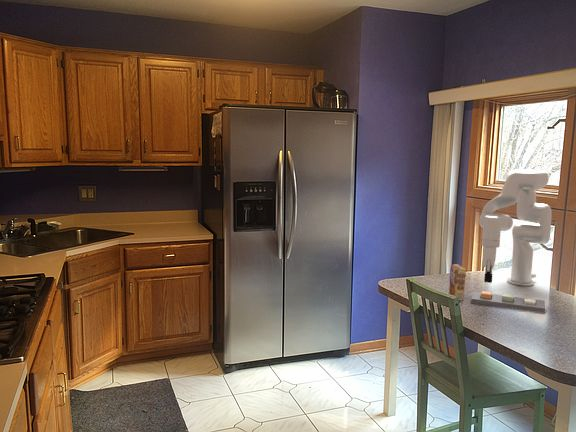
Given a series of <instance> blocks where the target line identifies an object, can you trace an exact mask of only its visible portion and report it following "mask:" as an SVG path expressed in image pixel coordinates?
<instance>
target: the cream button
mask: <svg viewBox="0 0 576 432" xmlns="http://www.w3.org/2000/svg"><path fill="white" fill-rule="evenodd" d="M523 298H524V304H532V305H535V304H536V301H535V300H536V299H535V300H533V298H527V299H525V297H523Z"/></svg>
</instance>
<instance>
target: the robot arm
mask: <svg viewBox="0 0 576 432" xmlns="http://www.w3.org/2000/svg"><path fill="white" fill-rule="evenodd" d="M548 183H549V174H548V172H547V171H545V170H541V169H540V170H538V169H537V170H535V169H514V170H512V171H511V172H510V173H509V174H508V175H507V177H506V179H505V181H504V184H503V186H502V189H501V191H500V193H499V194H498V195H497V196H495V197H493V198H492V199H491V200H489V201H488V202H487V203H486V204H484V206H483V209H482V211H481V213H480V216H479V218H478V224H479V227H481V228H482V232H481V233H482V236H481V246H482V247H483V253H482V263H481V268H482V269H485V270H484V271H485V272H484V278H483V279H484V280H483V281H484V283H489V284H491V283H493V282H492V281H493V269H494V268H495V264H496V258H497V248H500V246H501V232H502V231H503V232H506V231H509V230H511V228H512V232H511V233H512V234H511V235H512V257H511V258H512V259H511V269H510V270H511V271H510V272H511V273H510V277H508V278H507V283H509V284H512V285H515V286H523V287H529V286H530V287H531V286H534V285H535V281H534V280H532V279H533V278H536V277H537V275H536V273H533V274H532V270H533V260H534V250H533V247H532V245H531V244H540V245H546V244H548V243H549V241H550V238H551V230H552V229H551V227H552V215H553V214H552V208H551V207H550V205H549V204H547V203H546V204H545V203H537V192H536V191H538V190H541V189H543V188H545V187H547V185H548ZM513 205H516V218H517V219H518V220H520V221H523V222H519V223H516V224H514V220H513V218H512V216H510V215H509V214H504V213H503V214H502V213H494V212H496V211H497V210H501V209H503V208H506V207H507V208H508V207H510V206H513ZM525 222H533V223H525ZM534 223H538V224H534ZM513 224H514V225H513ZM530 243H531V244H530Z"/></svg>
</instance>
